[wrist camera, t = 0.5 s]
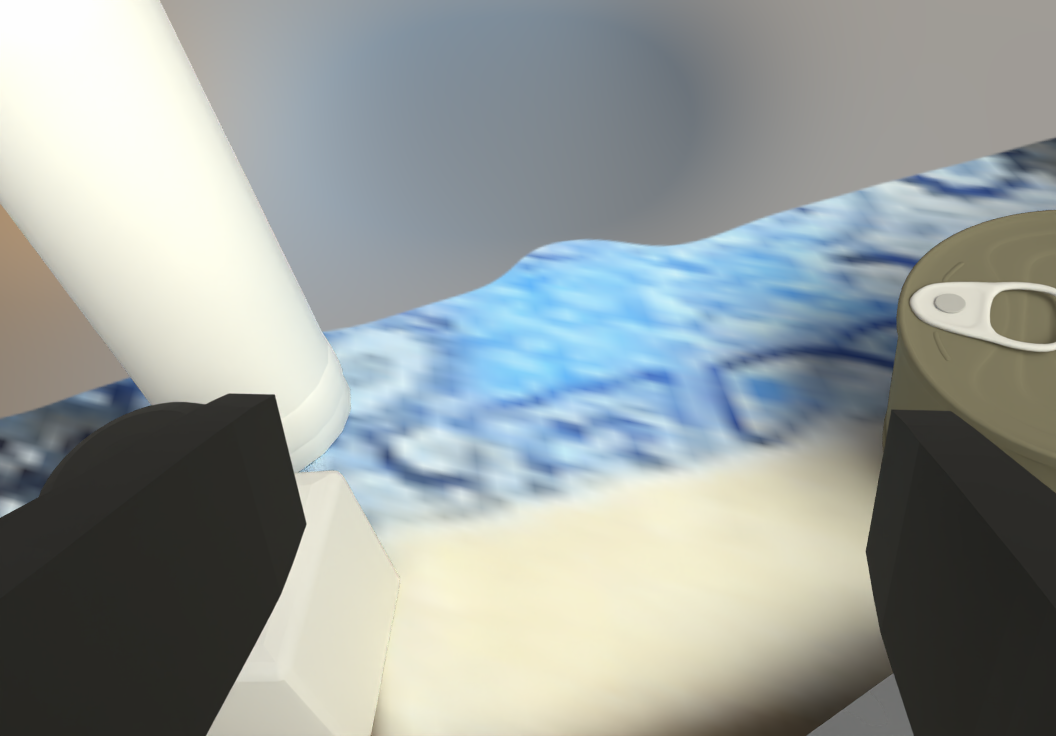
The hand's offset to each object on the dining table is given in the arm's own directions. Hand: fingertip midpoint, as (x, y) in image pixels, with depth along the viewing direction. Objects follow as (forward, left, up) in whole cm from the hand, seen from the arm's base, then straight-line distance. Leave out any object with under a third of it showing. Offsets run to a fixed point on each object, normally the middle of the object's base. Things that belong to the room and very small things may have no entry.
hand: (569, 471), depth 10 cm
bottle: (+23, +13, -20) cm, 33 cm away
